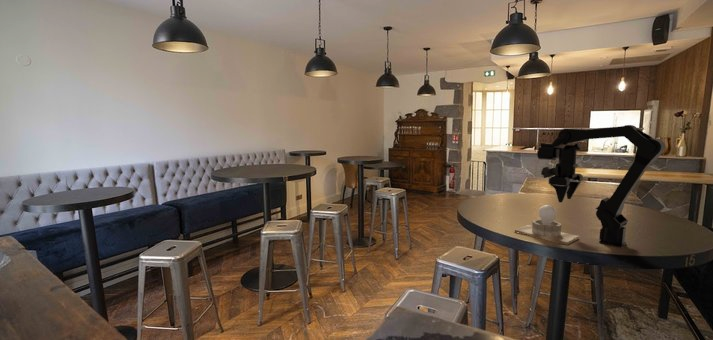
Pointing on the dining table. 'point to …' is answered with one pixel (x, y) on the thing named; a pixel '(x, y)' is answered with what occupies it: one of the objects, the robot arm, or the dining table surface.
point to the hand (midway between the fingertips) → (564, 200)
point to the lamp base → (556, 239)
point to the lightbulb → (547, 214)
